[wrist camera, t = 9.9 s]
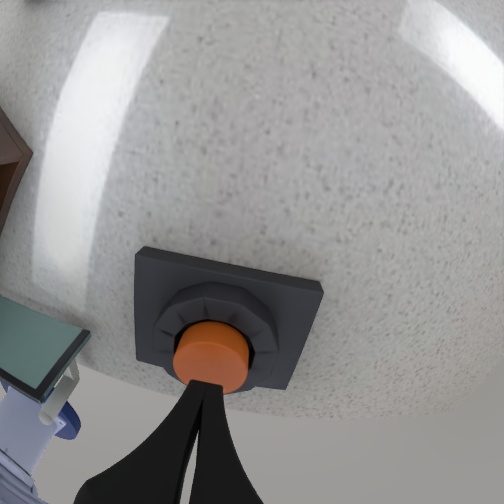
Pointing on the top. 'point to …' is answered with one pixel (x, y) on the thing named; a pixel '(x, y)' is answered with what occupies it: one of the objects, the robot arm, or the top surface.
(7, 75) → the top surface
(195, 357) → the light button
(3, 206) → the cabinet
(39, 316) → the glass door
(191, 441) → the robot arm
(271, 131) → the top surface
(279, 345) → the switch block
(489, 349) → the top surface
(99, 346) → the top surface
